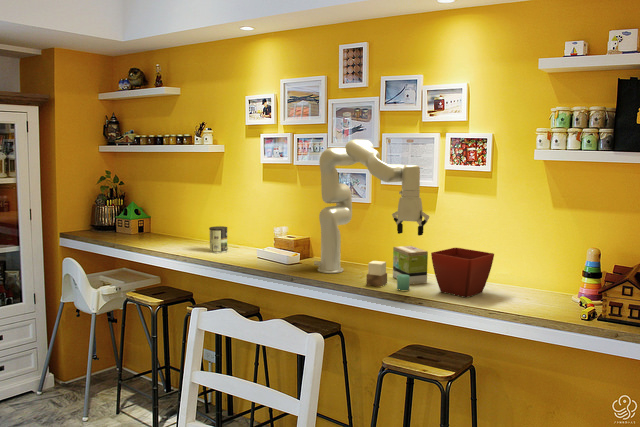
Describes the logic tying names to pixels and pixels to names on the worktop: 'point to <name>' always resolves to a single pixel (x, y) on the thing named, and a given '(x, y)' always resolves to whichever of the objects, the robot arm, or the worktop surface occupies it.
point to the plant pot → (462, 270)
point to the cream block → (377, 268)
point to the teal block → (403, 282)
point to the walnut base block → (376, 280)
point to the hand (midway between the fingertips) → (410, 234)
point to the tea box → (410, 263)
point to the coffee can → (218, 239)
